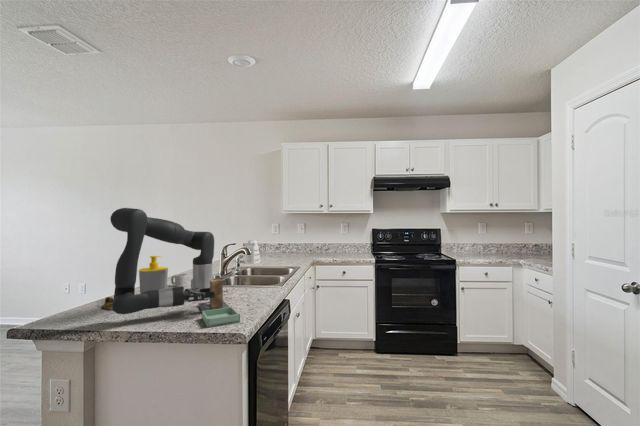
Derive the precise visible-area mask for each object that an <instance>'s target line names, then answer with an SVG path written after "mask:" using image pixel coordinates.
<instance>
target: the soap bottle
mask: <svg viewBox="0 0 640 426" xmlns="http://www.w3.org/2000/svg"><path fill="white" fill-rule="evenodd" d="M149 258H151V259H150V260H151V261H150V262H149V267H144V268H140V269H138V278H139V294H142V293H143V292H145V291H150V290H159V289H164V288H168V273H169V267H168V266H167V267H166V266H159V262H157V258H162V256H161V255H150V256H149Z"/></svg>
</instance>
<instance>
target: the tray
mask: <svg viewBox="0 0 640 426" xmlns="http://www.w3.org/2000/svg"><path fill="white" fill-rule="evenodd" d="M201 320H202V322H203V323H204V325H205V326H206V328H207V329H208V328H213V327H218V326H219V327H220V326H227V325H232V324H237V323H241V313H239V312H238V311H237V310H236V309H235V308H234V307H233V306H229V307H228V308H220V309H213V310H206V311H202V310H201Z"/></svg>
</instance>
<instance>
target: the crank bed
mask: <svg viewBox="0 0 640 426" xmlns="http://www.w3.org/2000/svg"><path fill="white" fill-rule="evenodd" d="M197 305H198V307H199V309H200V310H201V312H202V311H206V310H211V308H210V300H208V301H206V302H199V303H198V304H197ZM228 307H230V306H229V305H228V304H227V303H226V302H225V301H224V300H223V308H228Z"/></svg>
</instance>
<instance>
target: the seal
mask: <svg viewBox="0 0 640 426" xmlns="http://www.w3.org/2000/svg"><path fill="white" fill-rule="evenodd" d="M113 299H114V297H112V296H107V297H105V298H104V303H103V304H102V306H101V310H105V311H113V309H112V303H113Z"/></svg>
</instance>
